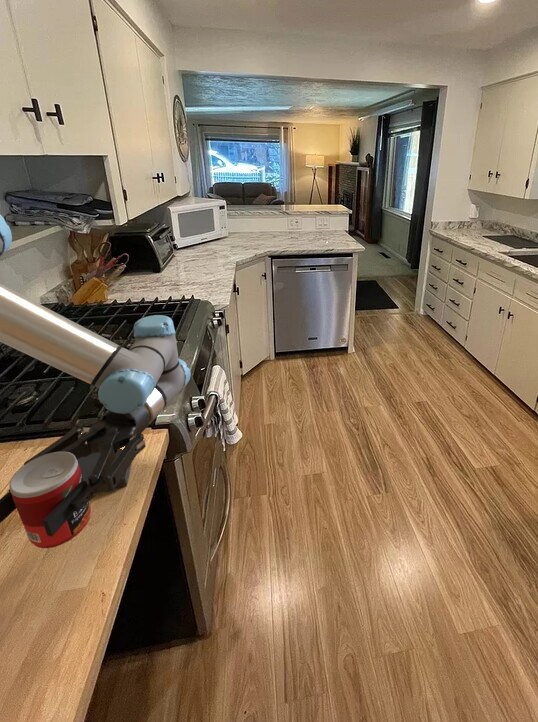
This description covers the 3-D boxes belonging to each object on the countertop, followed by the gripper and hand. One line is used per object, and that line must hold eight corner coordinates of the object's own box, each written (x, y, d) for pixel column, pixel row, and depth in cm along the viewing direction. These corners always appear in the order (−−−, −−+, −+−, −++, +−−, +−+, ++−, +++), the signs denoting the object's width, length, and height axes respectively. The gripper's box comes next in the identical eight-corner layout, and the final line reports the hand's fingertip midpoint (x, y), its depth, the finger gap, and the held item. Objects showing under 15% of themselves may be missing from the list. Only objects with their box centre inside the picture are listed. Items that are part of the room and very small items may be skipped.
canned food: (86, 539, 53) (69, 484, 49) (21, 559, 50) (-3, 502, 47) (96, 496, 60) (82, 445, 56) (39, 512, 57) (20, 459, 53)
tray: (50, 504, 69) (47, 496, 68) (71, 453, 80) (69, 446, 80) (126, 486, 73) (125, 478, 72) (136, 440, 84) (135, 433, 84)
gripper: (184, 436, 69) (92, 557, 48) (91, 421, 72) (-34, 528, 51) (180, 404, 66) (80, 517, 45) (83, 390, 70) (-52, 489, 49)
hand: (20, 522), depth 48 cm, fingers closed on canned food, 8 cm apart
